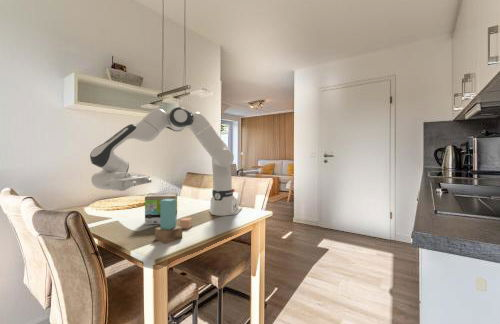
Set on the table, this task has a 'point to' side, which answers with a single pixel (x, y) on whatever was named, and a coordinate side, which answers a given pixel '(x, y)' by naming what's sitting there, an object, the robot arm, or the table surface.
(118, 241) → the table surface
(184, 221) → the terracotta block
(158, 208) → the tea box
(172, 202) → the teal block
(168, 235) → the walnut base block
